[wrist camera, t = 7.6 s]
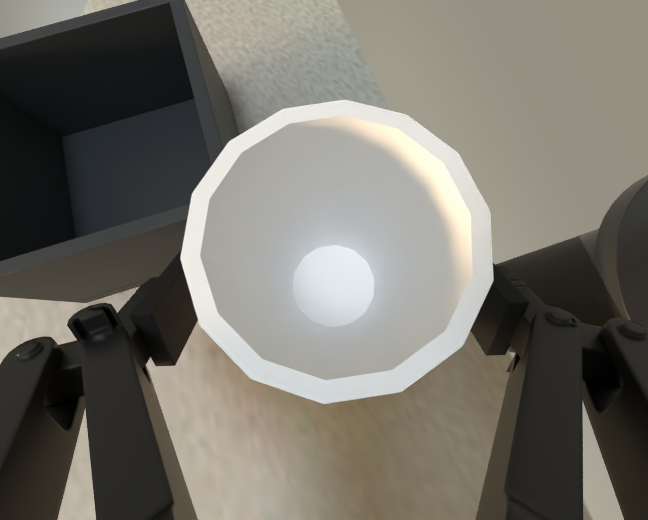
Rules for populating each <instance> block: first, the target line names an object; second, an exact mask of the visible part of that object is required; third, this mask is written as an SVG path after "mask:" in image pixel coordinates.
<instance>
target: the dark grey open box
mask: <svg viewBox="0 0 648 520" xmlns="http://www.w3.org/2000/svg"><path fill="white" fill-rule="evenodd" d="M237 136H239V132H238V129H237V125H236V122H235V118H234V115H233V111H232V108H231V105H230V101H229V98H228V94H227V91H226V89H225V87H224V84H223V83H222V80H221V78H220V76H219V74H218V71H217V69H216V67H215V65H214V63H213V61H212V58H211V56H210V54H209V52H208V50H207V48H206V45H205V43H204V41H203V39H202V37H201V34H200V32H199V30H198V28H197V26H196V24H195V21H194V19H193V17H192V15H191V13H190V11H189V8H188V6H187V4H186V2H185V0H138V1H134V2H130V3H127V4H123V5H119V6H116V7H112V8H109V9H105V10H101V11H98V12H94V13H90V14H87V15H83V16H80V17H76V18H73V19H69V20H65V21H61V22H58V23H54V24H51V25H47V26H43V27H40V28H36V29H32V30H29V31H25V32H22V33H18V34H15V35H11V36H8V37H4V38H0V297H12V298H26V299H39V300H53V301H67V302H80V303H86V302H90V301H93V300H96V299H99V298H102V297H106V296H109V295H112V294H115V293H118V292H122V291H125V290H128V289H131V288H134V287H137V286H141V285H142V284H143V283H145V282H146V281H148V280H149V279H151V278H152V277H159V276H160V275H161V274H162V273H163V271H164V270H165V269H166V268H167V266H168V265H169V264H170V263H171V261H172V260H173V259H174V258H175V256H176V255H177V254H178V253H179V251H180V250H181V249H182V246H183V240H184V235H185V229H186V224H187V218H188V213H189V207H190V202H191V196H192V193H193V191H194V190H195V189H196V187H197V186H198V184H199V183H200V182H201V180H202V179H203V177H204V176H205V174H206V173H207V172H208V170H209V169H210V167H211V166H212V165H213V163H214V162H215V160H216V159H217V158H218V156H219V155H220V153H221V152H222V151H223V149H224V148H225V146H226V145H227V143H228V142H229V141H230V140H232V139H234V138H235V137H237Z"/></svg>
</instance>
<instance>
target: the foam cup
mask: <svg viewBox="0 0 648 520" xmlns="http://www.w3.org/2000/svg"><path fill="white" fill-rule="evenodd" d="M180 260H181V263H182V267H183V270H184V273H185V277H186V280H187V284H188V287H189V291H190V294H191V297H192V301H193V304H194V308H195V311H196V315H197V318H198V321H199V325H200V326H201V327H202V328H203V330H204V331H205V332H206V333H207V334H208V335H209V336H210V337H211V338H212V339H213V340H214V341H215V342H216V343H217V344H218V345H219V346H220V347H221V348H222V349H223V351H224V352H225V353H226V354H227V355H228V356H229V357H230V358H231V359H232V360H233V361H234V362H235V363H236V364H237V365H238V366H239V367H240V368H241V369H242V371H243V372H244V373H245V374H246V375H247V376H248V377H249V378H250V379H252V380H255V381H258V382H261V383H264V384H266V385H269V386H272V387H275V388H278V389H281V390H284V391H287V392H290V393H293V394H296V395H299V396H302V397H305V398H307V399H310V400H313V401H316V402H319V403H322V404H328V403H335V402H341V401H347V400H354V399H360V398H367V397H373V396H380V395H386V394H393V393H399V392H402V391H404V390H405V389H406V388H408V387H409V386H410V385H412V384H413V383H414V382H416V381H417V380H418V379H420V378H421V377H422V376H424V375H425V374H426V373H428V372H429V371H430V370H432V369H433V368H434V367H436V366H437V365H438V364H440V363H441V362H442V361H444V360H445V359H446V358H448V357H449V356H450V355H452V354H453V353H454V352H456V351H457V350H458V349H460V348H461V347H462V346H463V345H464V343H465V340H466V338H467V336H468V334H469V332H470V330H471V328H472V325H473V323H474V321H475V319H476V317H477V315H478V313H479V311H480V308H481V306H482V304H483V302H484V300H485V298H486V296H487V293H488V291H489V289H490V287H491V285H492V283H493V281H494V279H493V257H492V235H491V214H490V210H489V208H488V206H487V204H486V203H485V201H484V199H483V197H482V195H481V193H480V192H479V190H478V188H477V186H476V185H475V182H474V181H473V179H472V177H471V175H470V174H469V172H468V170H467V168H466V166H465V164H464V163H463V161H462V159H461V157H460V155H459V153H457V152H456V151H455V150H453V149H452V148H451V147H449V146H448V145H447V144H445V143H444V142H443V141H441V140H440V139H439V138H437V137H436V136H435V135H433V134H432V133H431V132H429V131H428V130H427V129H425V128H424V127H423V126H421V125H420V124H419V123H417V122H416V121H415V120H413V119H412V118H411V117H409V116H408V115H406V114H402V113H398V112H394V111H390V110H386V109H382V108H378V107H374V106H369V105H365V104H361V103H357V102H353V101H349V100H339V101H332V102H325V103H319V104H312V105H305V106H299V107H292V108H285V109H282V110H280V111H279V112H277V113H275V114H274V115H272V116H270V117H269V118H267V119H265V120H264V121H262V122H260V123H259V124H257V125H255V126H254V127H252V128H250V129H249V130H247V131H245V132H244V133H242V134H240V135H239V136H237V137H235V138H234V139H232V140H230V141H229V142H228V143H227V145H226V146H225V148H224V149H223V151H222V152H221V153H220V155H219V156H218V158H217V159H216V160H215V162H214V163H213V165H212V166H211V167H210V169H209V170H208V172H207V173H206V174H205V176H204V177H203V179H202V180H201V182H200V183H199V184H198V186H197V187H196V189H195V190H194V191H193V193H192V196H191V202H190V207H189V213H188V218H187V224H186V229H185V235H184V240H183V246H182V251H181V257H180Z"/></svg>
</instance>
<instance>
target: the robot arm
mask: <svg viewBox="0 0 648 520" xmlns="http://www.w3.org/2000/svg"><path fill="white" fill-rule="evenodd" d="M181 251H182V249H181V250H180V251H179V253H178V254H177V255H176V256H175V258H174V259H173V260H172V261H171V263H170V264H169V265H168V266H167V268H166V269H165V270H164V271H163V273H162V274H161V275H160V276H159V277H152V278H151V279H149V280H148V281H146V282H145V283H143V284H142V285H141V286H140V287H139V289H138V290H137V291H136V292H135V294H133V296H132V297H131V298H130V300H128V301H127V303H126V304H125V305H124V306H123V307H122V308H121V310H120V311H119V312H118V313H117V312H116V311H115V309H114V307H113V306H112V305H111V304H107V303H100V304H95V305H91V306H88V307H86V308H84V309H82V310H80V311H79V312H77V313H76V314H74V315H73V316H72V317H71V318H70V319H69V321H68V324H67V326H68V327H69V329H70V330H71V331H72V333H73V334H74V336H75V337H76V339H77V341H73V342H69V343H65V344H61V345H58V344H57V343H56V342H55V341H54V339H52V338H51V337H39V338H35V339H32V340H29V341H26V342H24V343H23V344H20V345H19V346H17V347H16V348H14V349H13V350H12V351H10V352H9V353H8V354H7V356H6V357H5V358H4V359H3V361H2V363H1V364H0V520H57V519H58V515H59V511H60V507H61V503H62V499H63V495H64V491H65V486H66V482H67V478H68V474H69V470H70V466H71V462H72V458H73V454H74V450H75V446H76V442H77V438H78V434H79V430H80V426H81V422H82V418H83V414H84V410H85V408H86V418H87V428H88V439H89V449H90V459H91V470H92V480H93V490H94V500H95V511H96V520H198V519H197V516H196V513H195V510H194V507H193V504H192V501H191V498H190V495H189V492H188V489H187V486H186V483H185V480H184V477H183V474H182V471H181V468H180V465H179V462H178V459H177V456H176V452H175V449H174V446H173V443H172V440H171V437H170V434H169V431H168V428H167V425H166V422H165V419H164V416H163V413H162V410H161V407H160V404H159V401H158V398H157V395H156V392H155V389H154V386H153V383H152V380H151V377H150V374H149V371H148V369H147V367H146V363H147V361H148V360H149V358H150V356H151V358H152V360H153V362H154V364H155V366H175V364H176V362H177V360H178V358H179V356H180V354H181V352H182V350H183V348H184V346H185V344H186V342H187V340H188V338H189V336H190V334H191V332H192V330H193V328H194V326H195V324H196V322H197V320H198V318H197V315H196V311H195V308H194V304H193V301H192V297H191V294H190V291H189V287H188V284H187V280H186V277H185V273H184V270H183V267H182V263H181V260H180V257H181ZM493 279H494V281H493V283H492V285H491V287H490V289H489V291H488V293H487V296H486V298H485V300H484V302H483V304H482V306H481V308H480V311H479V313H478V315H477V317H476V319H475V321H474V323H473V325H472V328H471V331H472V333H473V335H474V336H475V338H476V340H477V341H478V343H479V345H480V346H481V348H482V350H483V351H484V353H485V355H505V354H506V352H507V350H508V348H509V346H510V344H511V346H512V347H513V348H514V350H515V351H516V354H515V356H514V358H513V360H512V362H511V364H510V366H509V368H508V370H507V371H508V372H510V374H509V378H508V383H507V387H506V391H505V395H504V400H503V404H502V408H501V413H500V417H499V421H498V426H497V430H496V434H495V439H494V443H493V447H492V451H491V456H490V460H489V464H488V469H487V473H486V477H485V482H484V486H483V490H482V494H481V499H480V503H479V507H478V512H477V516H476V520H583V446H582V445H583V441H582V440H583V434H582V433H583V432H582V431H583V429H582V400H583V402H584V405H585V408H586V411H587V414H588V417H589V420H590V422H591V425H592V428H593V431H594V434H595V437H596V440H597V442H598V445H599V448H600V451H601V454H602V457H603V460H604V463H605V465H606V468H607V471H608V474H609V477H610V480H611V483H612V486H613V488H614V491H615V494H616V497H617V500H618V502H619V505H620V509H621V511H622V514H623V517H624V520H648V328H647V327H646V326H644V325H642V324H640V323H638V322H635V321H633V320H628V319H625V318H617V317H615V318H610V319H609V320H608V321H607V322H606V323H605V325H604V326H603V327H600V326H594V325H589V324H583V323H580V321H579V320H578V319H577V318H576V317H575V316H574V315H572V314H571V313H569V312H568V311H565V310H563V309H560V308H557V307H552V306H547V305H546V304H545V303H544V302H543V301H542V300H541V299H540V298H539V297H538V296H537V295H536V294H535V293H534V292H533V291H532V290H531V289H530V288H529V287H527V285H526V284H525V283H524V282H523V281H521V279H520V278H519V277H518V276H517V275H516V274H515V273H514V272H513V271H511V270H509V269H507V268H506V267H504V266H496V265H495V264H494V263H493Z"/></svg>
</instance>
